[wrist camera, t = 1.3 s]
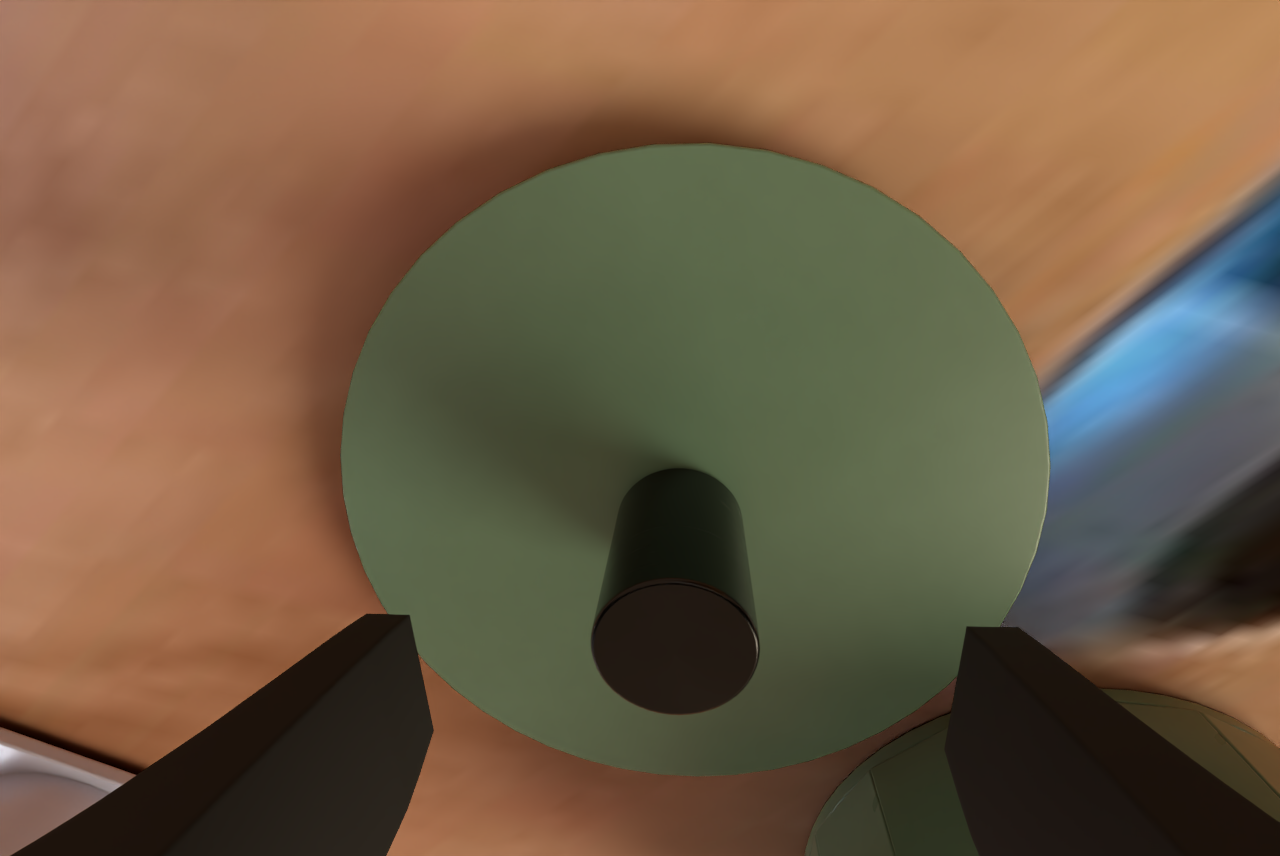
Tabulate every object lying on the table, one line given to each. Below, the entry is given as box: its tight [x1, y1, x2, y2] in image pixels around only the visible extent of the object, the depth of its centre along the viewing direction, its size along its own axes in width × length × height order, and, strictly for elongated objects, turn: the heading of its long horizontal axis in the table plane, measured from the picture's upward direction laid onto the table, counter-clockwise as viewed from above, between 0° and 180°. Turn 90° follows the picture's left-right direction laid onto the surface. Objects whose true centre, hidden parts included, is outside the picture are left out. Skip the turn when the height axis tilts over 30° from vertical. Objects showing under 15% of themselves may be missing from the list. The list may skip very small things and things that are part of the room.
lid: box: [340, 143, 1050, 776], centre depth 11 cm, size 13×13×5 cm
